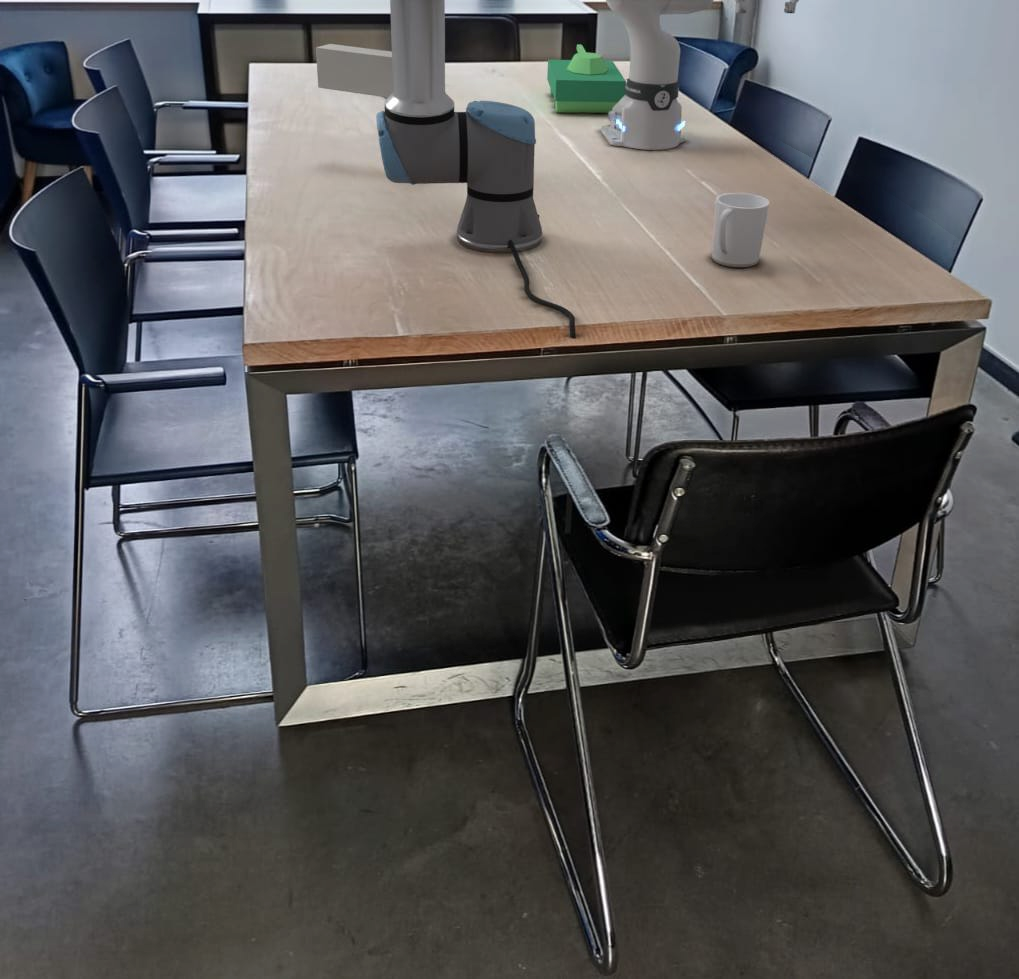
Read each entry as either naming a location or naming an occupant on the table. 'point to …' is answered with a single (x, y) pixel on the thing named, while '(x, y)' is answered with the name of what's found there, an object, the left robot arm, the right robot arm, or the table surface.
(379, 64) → the bar
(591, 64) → the toy tank
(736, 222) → the mug
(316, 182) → the table surface
